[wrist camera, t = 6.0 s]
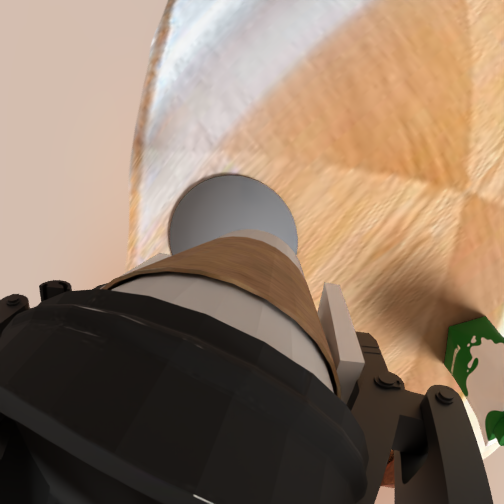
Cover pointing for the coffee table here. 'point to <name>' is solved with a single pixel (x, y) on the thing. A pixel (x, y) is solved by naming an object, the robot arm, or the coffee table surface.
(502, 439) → the milk carton
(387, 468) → the reddish brown rock
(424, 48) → the coffee table surface
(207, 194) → the disc
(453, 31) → the coffee table surface
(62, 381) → the coffee cup
